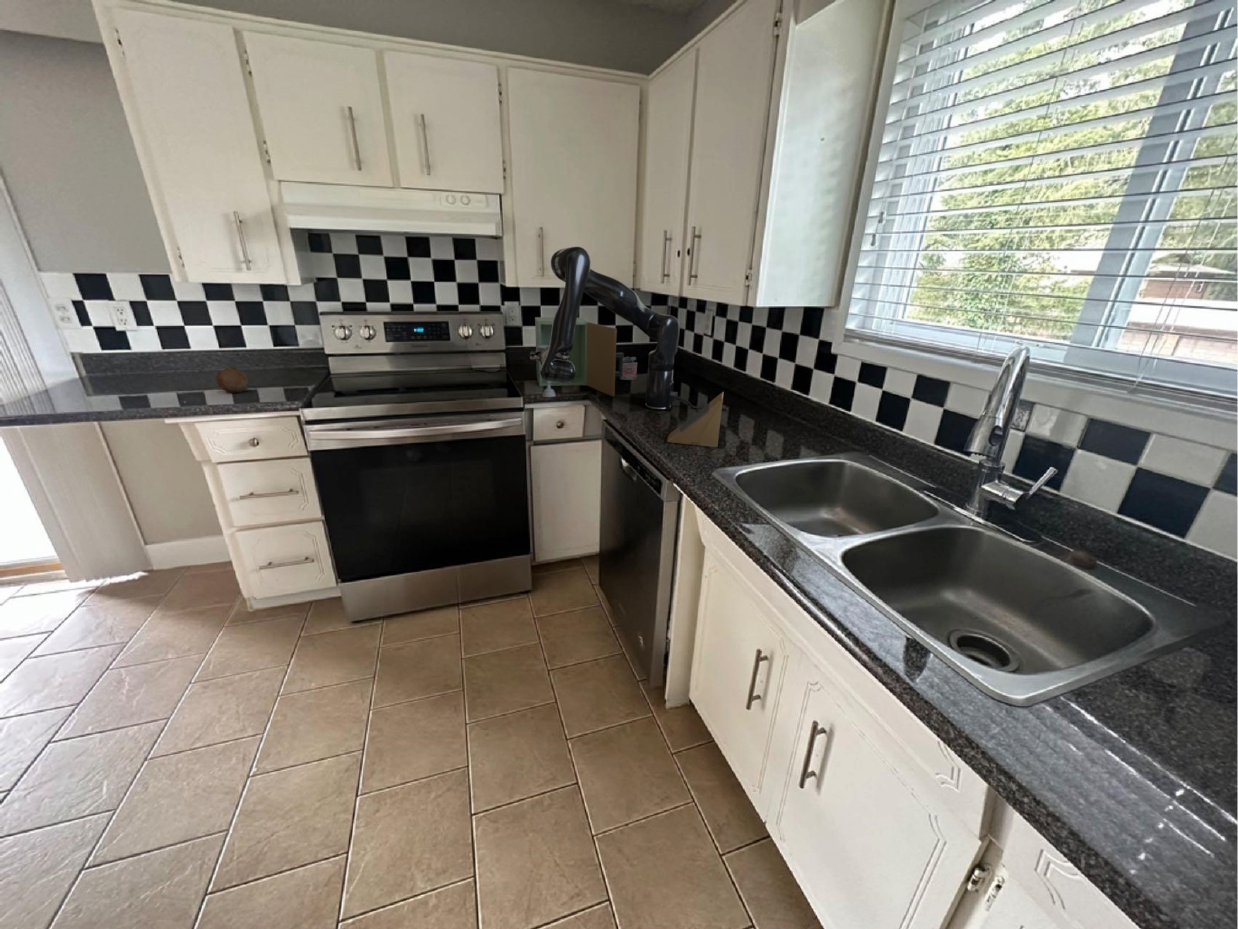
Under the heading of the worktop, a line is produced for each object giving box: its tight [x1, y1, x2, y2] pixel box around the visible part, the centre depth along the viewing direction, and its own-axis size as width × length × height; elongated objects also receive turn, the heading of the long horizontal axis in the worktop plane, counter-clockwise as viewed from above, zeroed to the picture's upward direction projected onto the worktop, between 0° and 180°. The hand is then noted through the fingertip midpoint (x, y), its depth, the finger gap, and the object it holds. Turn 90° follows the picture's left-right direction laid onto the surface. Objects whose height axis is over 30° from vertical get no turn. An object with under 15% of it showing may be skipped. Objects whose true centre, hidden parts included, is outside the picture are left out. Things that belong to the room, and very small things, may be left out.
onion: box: [215, 366, 249, 394], centre depth 184 cm, size 10×9×10 cm
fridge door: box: [586, 321, 624, 397], centre depth 202 cm, size 6×20×26 cm, turn 33°
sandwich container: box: [666, 391, 724, 448], centre depth 151 cm, size 9×15×15 cm, turn 78°
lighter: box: [618, 356, 638, 381], centre depth 226 cm, size 8×3×10 cm, turn 104°
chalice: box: [537, 345, 557, 398], centre depth 184 cm, size 7×7×18 cm
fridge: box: [534, 316, 589, 387], centre depth 213 cm, size 14×20×26 cm
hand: (547, 352), depth 183 cm, fingers closed on chalice, 6 cm apart
